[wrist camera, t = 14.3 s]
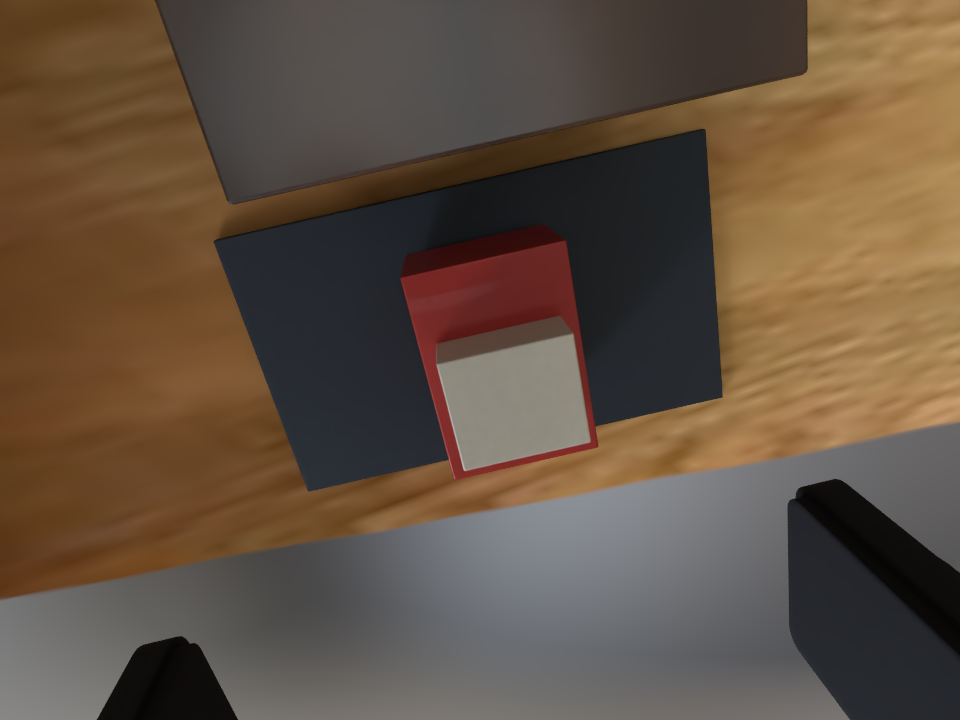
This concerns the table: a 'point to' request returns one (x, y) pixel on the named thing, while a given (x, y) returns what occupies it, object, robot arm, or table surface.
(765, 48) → the shelf
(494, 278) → the red and white block
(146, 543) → the table surface
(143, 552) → the table surface
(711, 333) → the mat
